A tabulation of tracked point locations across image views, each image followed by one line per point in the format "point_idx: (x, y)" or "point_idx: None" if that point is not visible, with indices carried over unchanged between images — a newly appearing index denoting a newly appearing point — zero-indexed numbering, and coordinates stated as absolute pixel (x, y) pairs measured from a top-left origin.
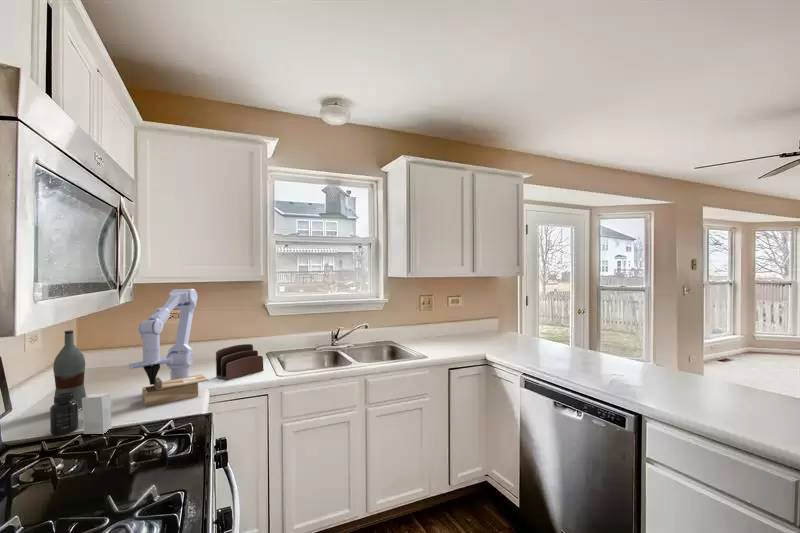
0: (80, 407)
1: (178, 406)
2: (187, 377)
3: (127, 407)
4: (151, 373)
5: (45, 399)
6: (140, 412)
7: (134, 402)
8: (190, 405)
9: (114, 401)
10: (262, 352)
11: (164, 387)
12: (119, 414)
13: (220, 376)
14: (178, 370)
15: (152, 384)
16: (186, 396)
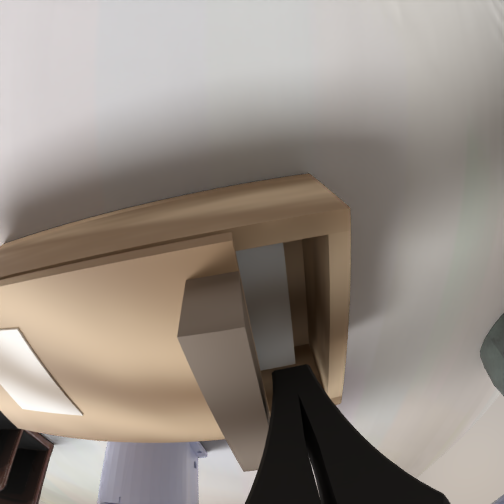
0: (501, 324)
1: (83, 35)
2: (66, 430)
3: (402, 240)
4: (338, 477)
5: (477, 419)
6: (341, 49)
7: (358, 319)
8: (23, 31)
9: (411, 369)
10: (48, 499)
11: (154, 260)
12: (443, 115)
13: (29, 433)
14: (136, 500)
15: (290, 368)
16: (45, 233)
